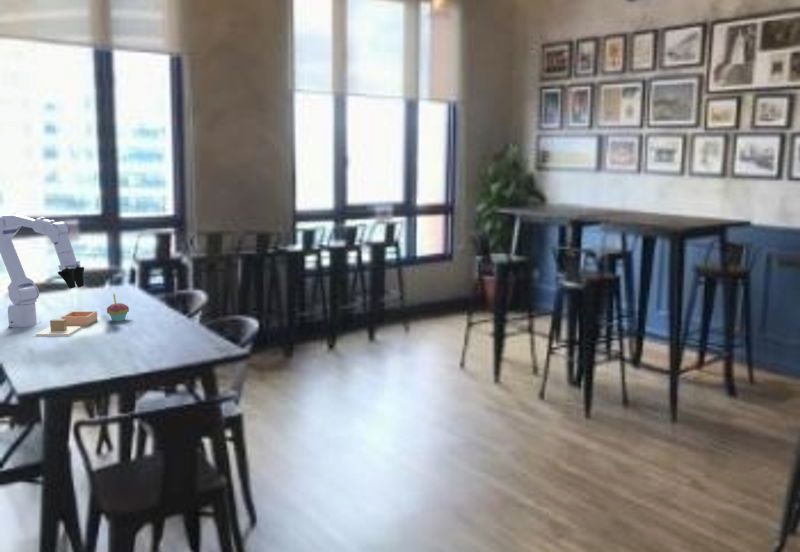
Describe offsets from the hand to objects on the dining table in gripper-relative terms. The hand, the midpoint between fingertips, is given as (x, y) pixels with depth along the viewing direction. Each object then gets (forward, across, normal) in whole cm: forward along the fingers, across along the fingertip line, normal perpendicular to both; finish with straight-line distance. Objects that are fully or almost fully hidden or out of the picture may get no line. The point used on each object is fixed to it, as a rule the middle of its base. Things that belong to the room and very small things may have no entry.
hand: (76, 287), depth 284 cm
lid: (+14, -1, +11) cm, 18 cm away
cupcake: (+17, +20, -3) cm, 26 cm away
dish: (+13, +14, +9) cm, 21 cm away
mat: (+15, -1, +11) cm, 18 cm away
